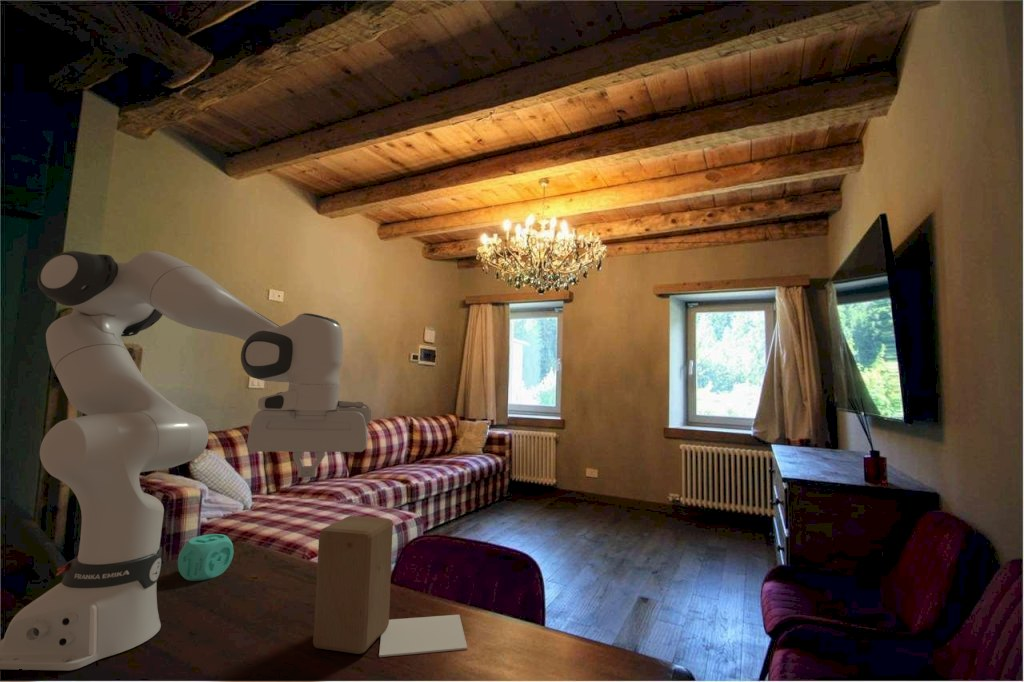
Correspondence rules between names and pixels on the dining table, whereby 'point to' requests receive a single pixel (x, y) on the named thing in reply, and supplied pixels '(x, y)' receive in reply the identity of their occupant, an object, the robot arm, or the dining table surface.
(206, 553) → the decorative dice
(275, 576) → the dining table surface
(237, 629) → the dining table surface
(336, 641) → the wooden block
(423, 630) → the mat
